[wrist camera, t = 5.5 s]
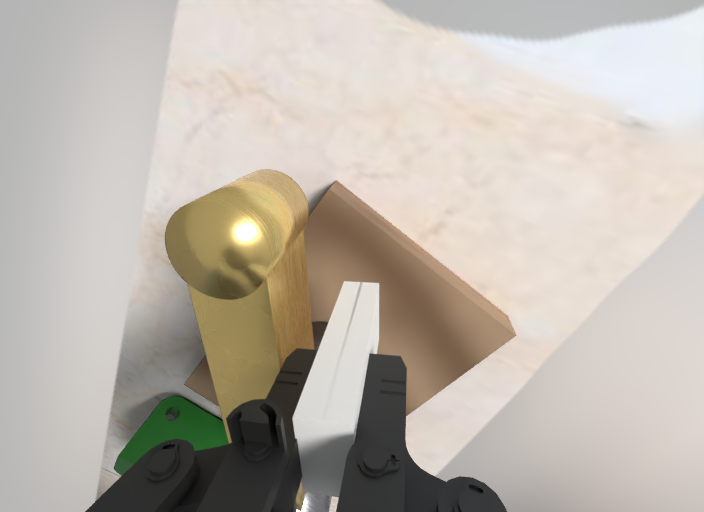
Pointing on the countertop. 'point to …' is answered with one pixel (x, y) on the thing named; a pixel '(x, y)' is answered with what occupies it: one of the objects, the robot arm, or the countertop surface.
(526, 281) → the countertop surface
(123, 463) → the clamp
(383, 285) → the stand
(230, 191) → the yellow bar
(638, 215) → the countertop surface
